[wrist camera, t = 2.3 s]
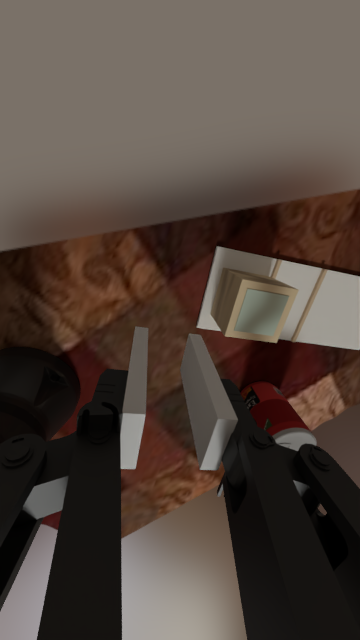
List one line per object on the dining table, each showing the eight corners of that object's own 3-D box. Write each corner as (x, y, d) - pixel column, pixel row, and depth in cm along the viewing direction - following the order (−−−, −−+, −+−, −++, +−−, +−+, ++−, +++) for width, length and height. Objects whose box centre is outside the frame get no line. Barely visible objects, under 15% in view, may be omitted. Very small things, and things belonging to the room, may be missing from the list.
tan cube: (210, 314, 33) (224, 336, 26) (223, 267, 30) (242, 279, 24) (253, 320, 34) (276, 343, 28) (268, 276, 32) (299, 289, 25)
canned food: (240, 380, 40) (270, 433, 30) (281, 378, 41) (324, 429, 31) (234, 412, 43) (259, 470, 33) (273, 410, 44) (309, 465, 34)
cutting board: (196, 326, 34) (197, 329, 33) (216, 246, 30) (218, 246, 29) (356, 348, 40) (361, 351, 39) (393, 283, 35) (400, 285, 34)
